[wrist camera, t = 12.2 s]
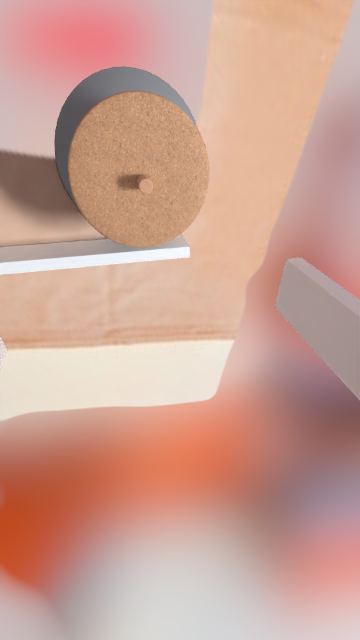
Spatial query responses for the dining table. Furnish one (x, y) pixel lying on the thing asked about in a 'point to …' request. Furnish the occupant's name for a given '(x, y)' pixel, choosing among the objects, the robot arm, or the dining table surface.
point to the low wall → (84, 254)
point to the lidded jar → (138, 169)
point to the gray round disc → (93, 93)
